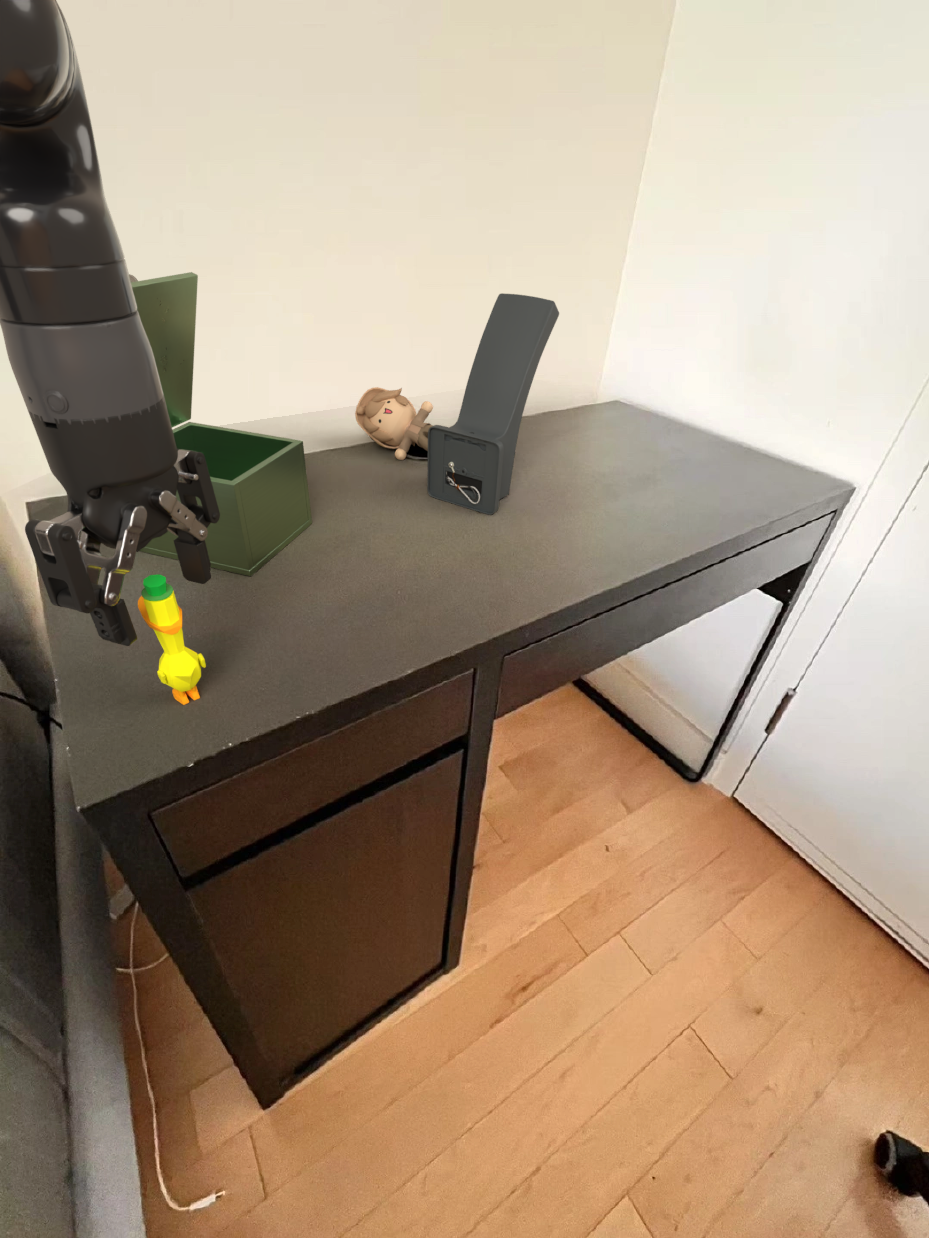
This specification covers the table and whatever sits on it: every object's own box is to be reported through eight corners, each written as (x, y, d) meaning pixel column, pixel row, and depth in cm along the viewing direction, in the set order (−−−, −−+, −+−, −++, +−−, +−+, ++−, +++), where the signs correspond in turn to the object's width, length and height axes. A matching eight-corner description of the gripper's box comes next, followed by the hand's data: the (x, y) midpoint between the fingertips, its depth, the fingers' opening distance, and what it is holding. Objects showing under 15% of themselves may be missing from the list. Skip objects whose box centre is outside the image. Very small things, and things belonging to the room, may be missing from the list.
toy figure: (150, 682, 53) (109, 563, 46) (191, 665, 55) (158, 548, 48) (181, 725, 49) (141, 603, 42) (224, 706, 51) (193, 585, 44)
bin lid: (198, 275, 64) (149, 251, 65) (98, 292, 54) (41, 264, 54) (191, 419, 75) (149, 398, 75) (106, 457, 64) (58, 434, 64)
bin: (312, 523, 78) (303, 440, 72) (250, 576, 67) (233, 484, 61) (207, 502, 81) (189, 421, 75) (132, 550, 71) (104, 460, 64)
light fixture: (548, 476, 94) (571, 299, 79) (492, 518, 82) (508, 317, 67) (486, 459, 98) (498, 288, 84) (425, 497, 86) (426, 304, 72)
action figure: (407, 456, 89) (339, 425, 96) (442, 487, 98) (378, 456, 105) (441, 394, 88) (371, 368, 95) (473, 431, 98) (407, 405, 105)
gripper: (129, 360, 44) (182, 555, 54) (-63, 421, 33) (47, 653, 43) (219, 373, 42) (257, 572, 52) (49, 441, 31) (137, 678, 41)
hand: (162, 608), depth 47 cm, fingers open, 8 cm apart
